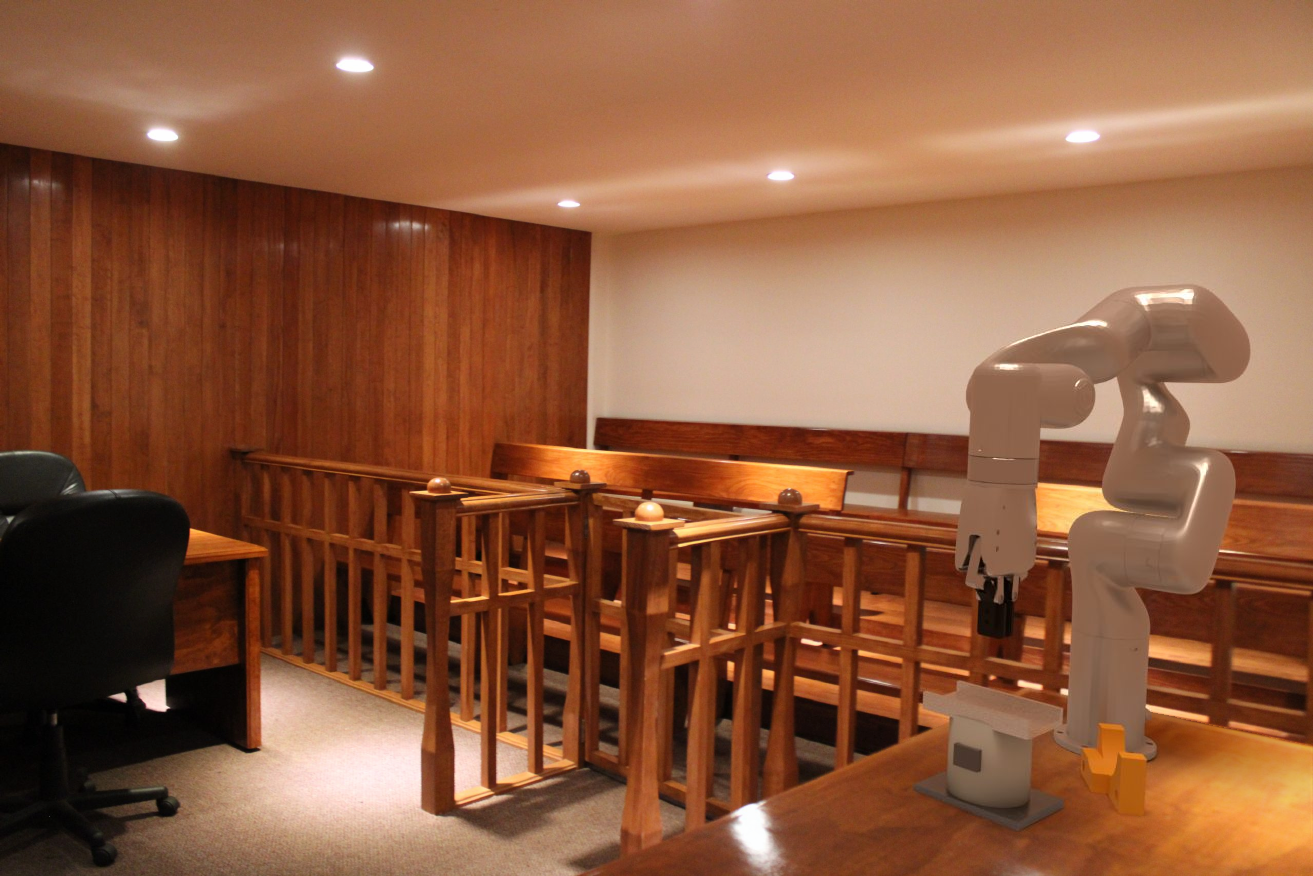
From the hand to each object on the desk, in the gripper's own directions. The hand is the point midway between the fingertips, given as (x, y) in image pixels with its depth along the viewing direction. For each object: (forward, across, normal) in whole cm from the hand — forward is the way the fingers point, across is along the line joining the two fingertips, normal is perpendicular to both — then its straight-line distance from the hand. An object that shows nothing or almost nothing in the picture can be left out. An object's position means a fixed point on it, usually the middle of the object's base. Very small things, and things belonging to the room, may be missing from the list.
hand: (994, 634), depth 114 cm
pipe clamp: (+19, -14, +8) cm, 25 cm away
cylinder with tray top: (+19, 0, 0) cm, 19 cm away
